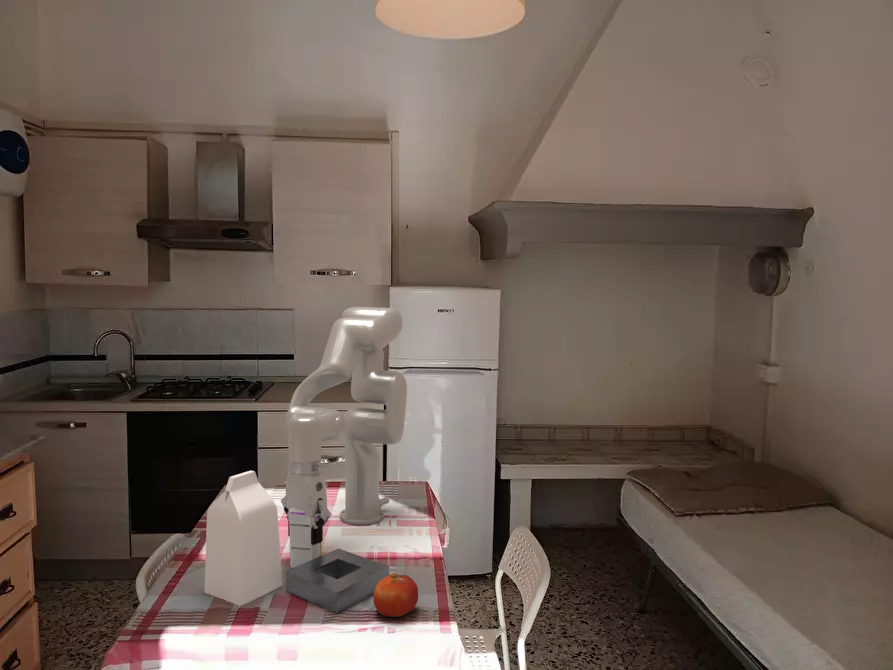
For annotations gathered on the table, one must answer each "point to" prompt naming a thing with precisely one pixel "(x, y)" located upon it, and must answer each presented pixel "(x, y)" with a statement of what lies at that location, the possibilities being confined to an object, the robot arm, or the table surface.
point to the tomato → (395, 595)
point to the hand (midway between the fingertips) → (305, 538)
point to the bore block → (325, 589)
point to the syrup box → (301, 538)
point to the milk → (242, 542)
